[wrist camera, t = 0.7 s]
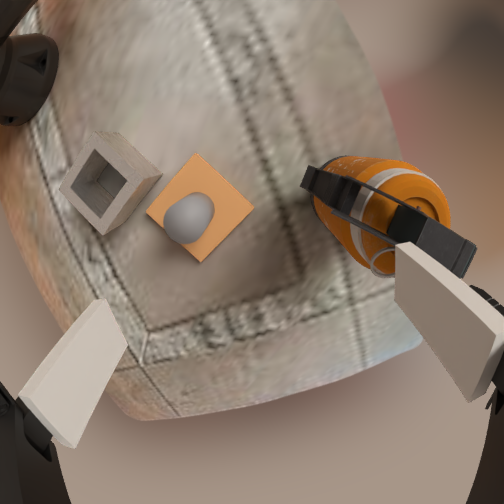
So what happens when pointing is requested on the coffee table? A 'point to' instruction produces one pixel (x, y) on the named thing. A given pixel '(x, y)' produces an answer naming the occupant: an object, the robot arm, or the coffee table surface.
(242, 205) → the block
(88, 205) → the grey hollow block
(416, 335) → the coffee table surface
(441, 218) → the canister
